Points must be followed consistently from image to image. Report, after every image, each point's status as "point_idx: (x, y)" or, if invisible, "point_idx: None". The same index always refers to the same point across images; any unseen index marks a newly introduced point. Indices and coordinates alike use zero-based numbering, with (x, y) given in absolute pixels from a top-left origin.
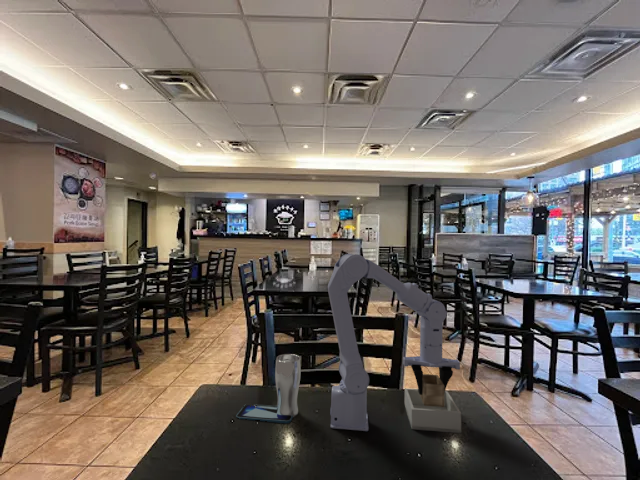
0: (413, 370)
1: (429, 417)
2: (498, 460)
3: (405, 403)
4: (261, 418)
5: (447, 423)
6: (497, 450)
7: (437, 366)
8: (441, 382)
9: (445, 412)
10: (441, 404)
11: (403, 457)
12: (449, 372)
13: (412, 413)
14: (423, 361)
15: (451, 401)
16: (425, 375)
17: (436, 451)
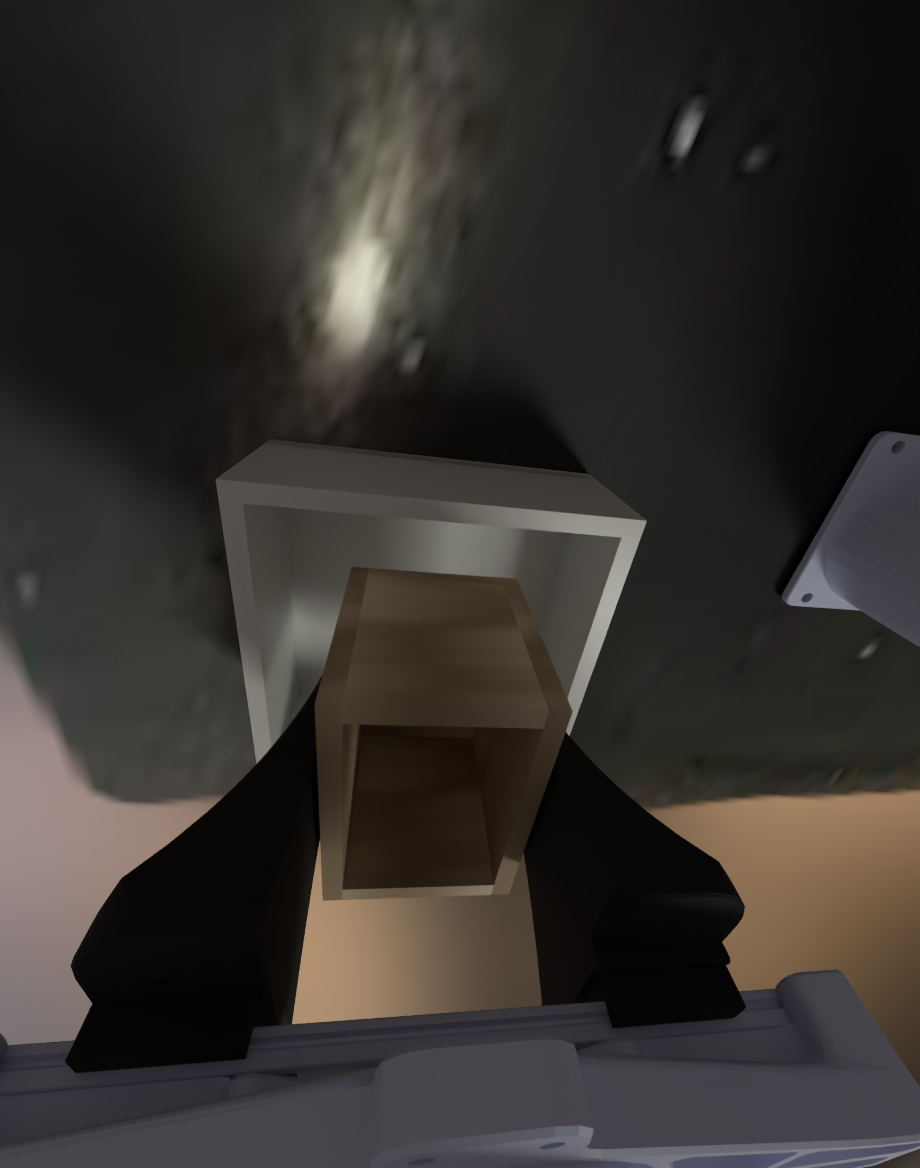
0: (744, 906)
1: (493, 489)
2: (27, 9)
3: None
4: None
5: (357, 463)
6: (19, 195)
7: (411, 1086)
8: (329, 772)
9: (365, 489)
10: (374, 577)
11: (822, 88)
12: (147, 932)
13: (625, 508)
14: (664, 1163)
15: (261, 659)
16: (453, 878)
17: (533, 181)
